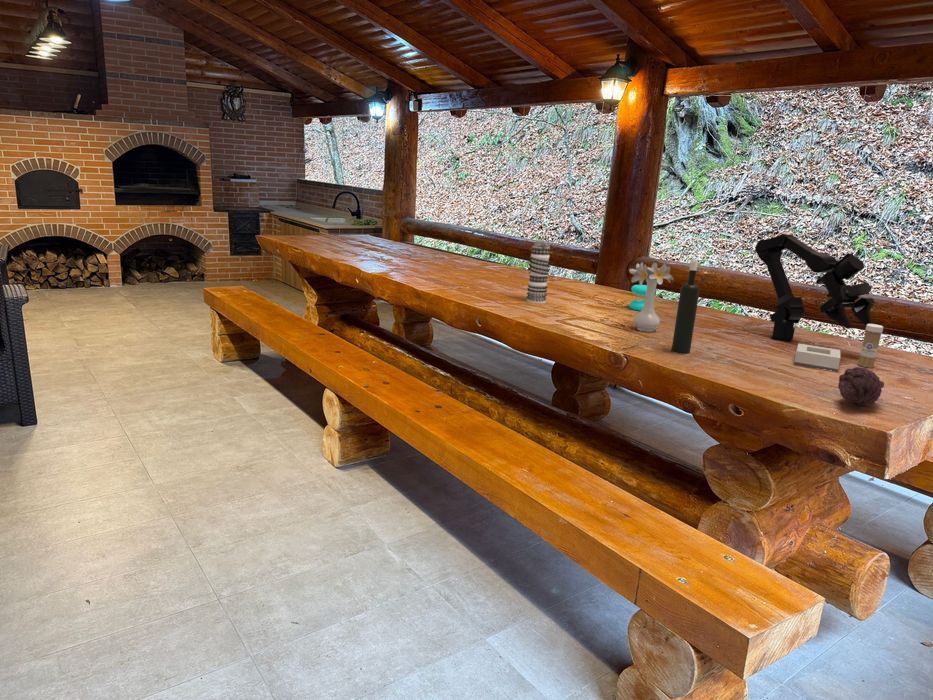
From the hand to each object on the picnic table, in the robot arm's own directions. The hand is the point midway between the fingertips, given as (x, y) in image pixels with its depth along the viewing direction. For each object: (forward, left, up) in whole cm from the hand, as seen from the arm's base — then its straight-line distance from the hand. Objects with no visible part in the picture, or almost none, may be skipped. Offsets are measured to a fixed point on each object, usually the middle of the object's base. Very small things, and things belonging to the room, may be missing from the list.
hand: (859, 327), depth 206 cm
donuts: (-78, +36, -12) cm, 87 cm away
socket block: (-10, -12, -11) cm, 20 cm away
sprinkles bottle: (+4, -3, -12) cm, 13 cm away
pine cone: (0, -51, -12) cm, 52 cm away
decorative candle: (-119, +18, -12) cm, 121 cm away
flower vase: (-67, -3, -12) cm, 68 cm away
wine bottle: (-49, -26, -12) cm, 57 cm away
